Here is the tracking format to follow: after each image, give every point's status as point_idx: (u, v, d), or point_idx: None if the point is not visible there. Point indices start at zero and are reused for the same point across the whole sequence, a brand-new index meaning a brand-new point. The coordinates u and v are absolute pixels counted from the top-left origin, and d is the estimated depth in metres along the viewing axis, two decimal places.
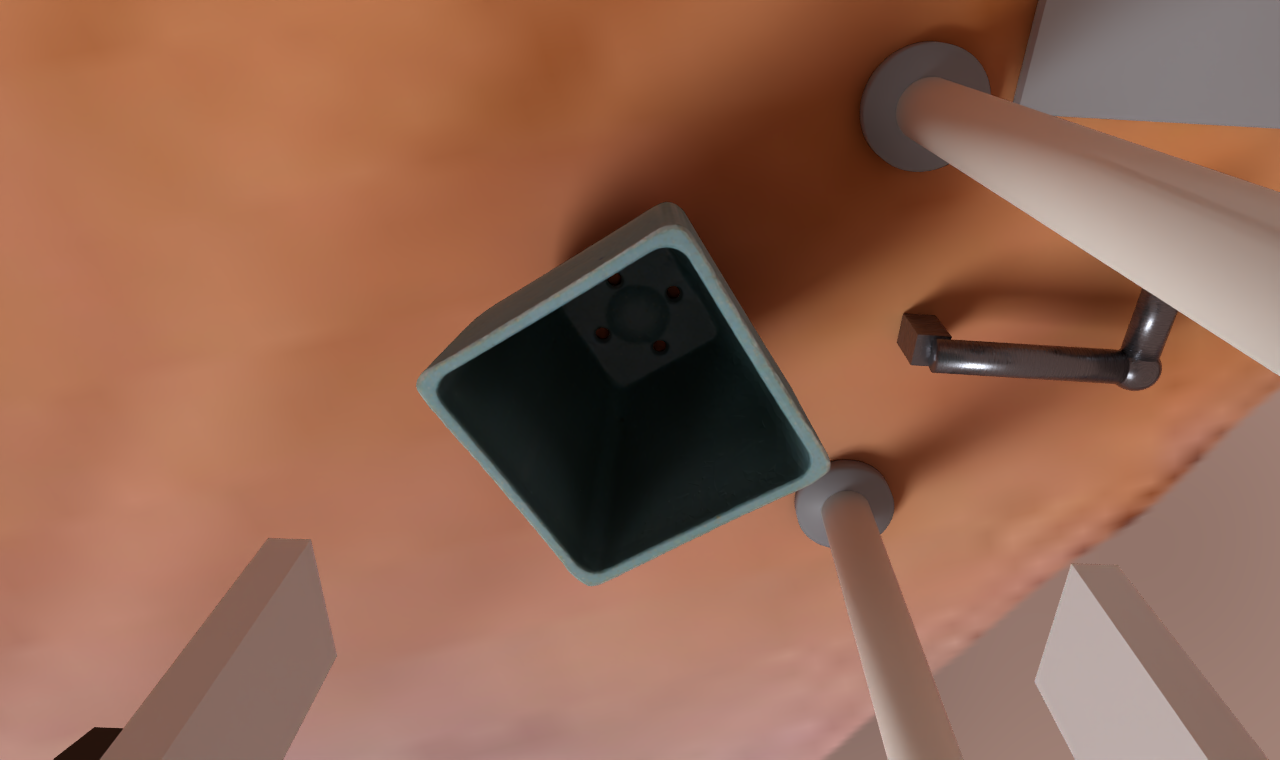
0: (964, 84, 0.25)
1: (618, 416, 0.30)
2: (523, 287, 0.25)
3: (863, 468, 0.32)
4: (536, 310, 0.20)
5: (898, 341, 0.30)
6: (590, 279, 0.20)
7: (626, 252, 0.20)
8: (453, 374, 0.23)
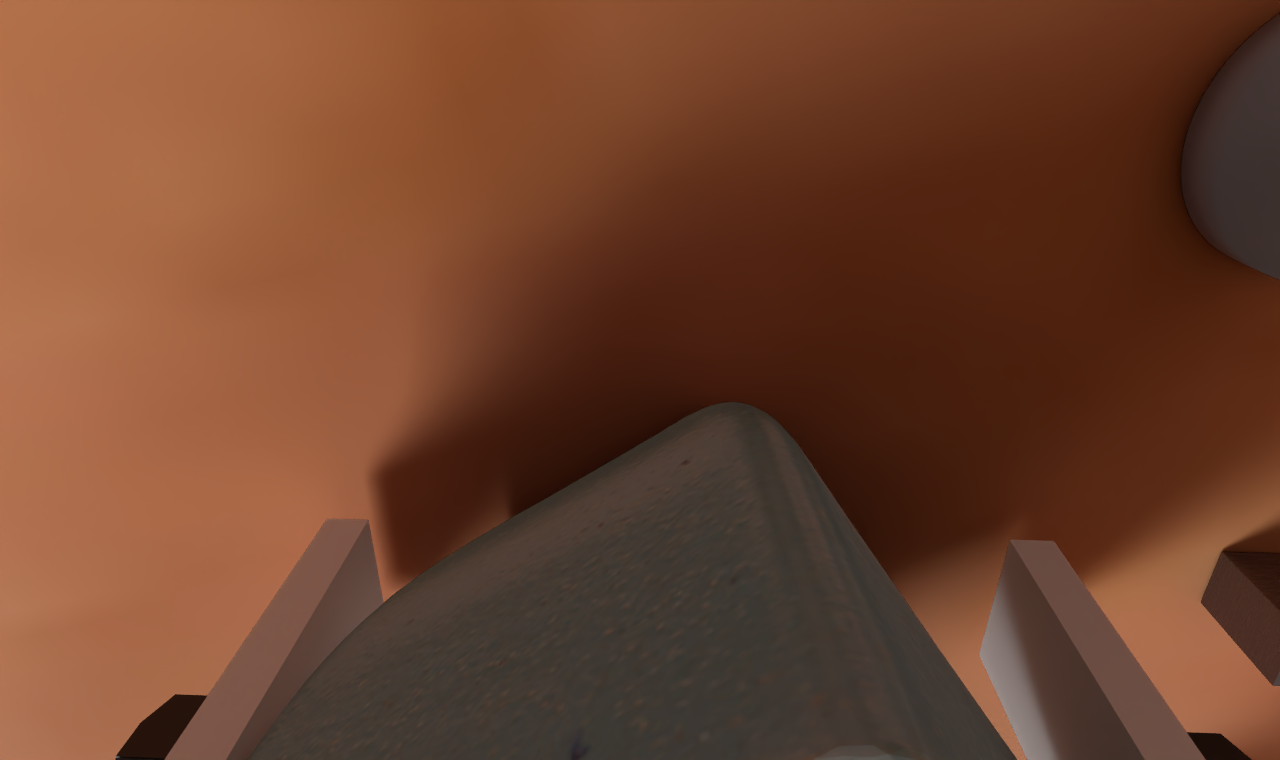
0: None
1: None
2: (408, 611, 0.11)
3: None
4: None
5: (1207, 603, 0.15)
6: None
7: None
8: None
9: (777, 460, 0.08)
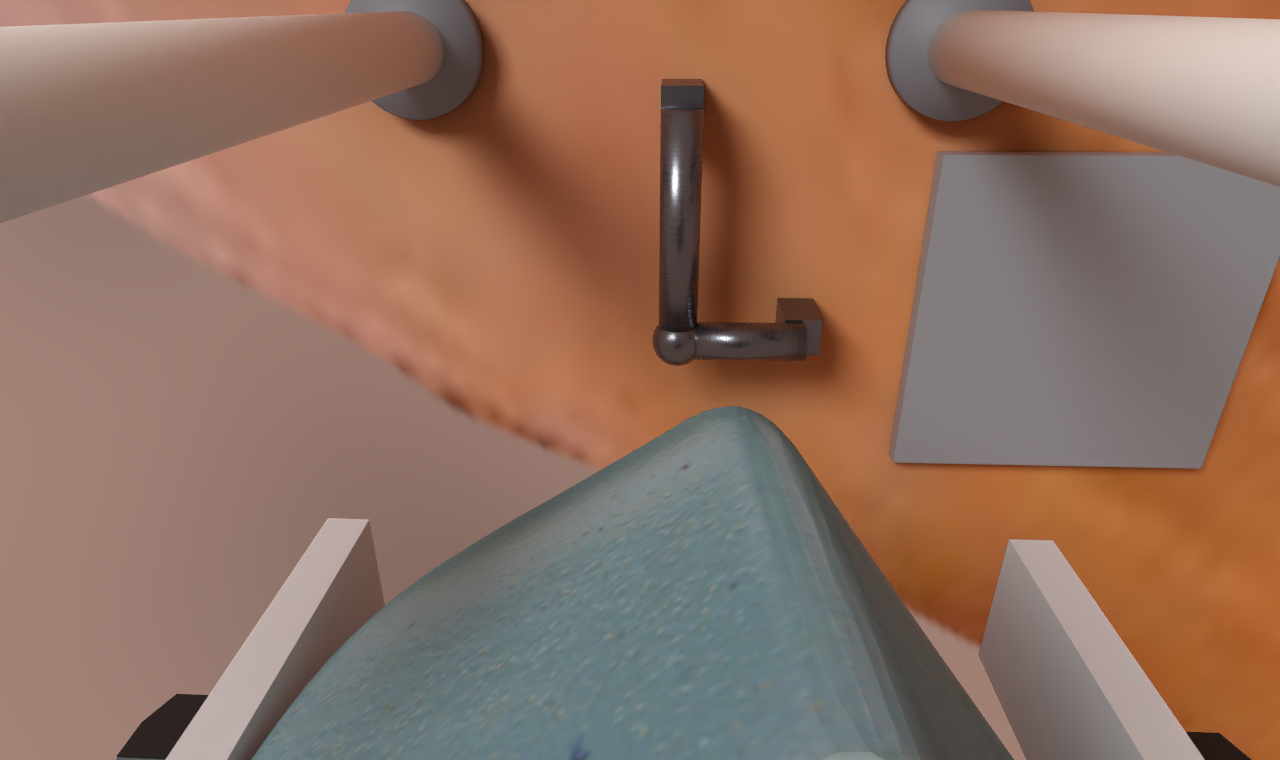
0: None
1: None
2: (409, 615, 0.11)
3: (479, 65, 0.23)
4: None
5: (666, 79, 0.23)
6: None
7: None
8: None
9: (776, 465, 0.08)
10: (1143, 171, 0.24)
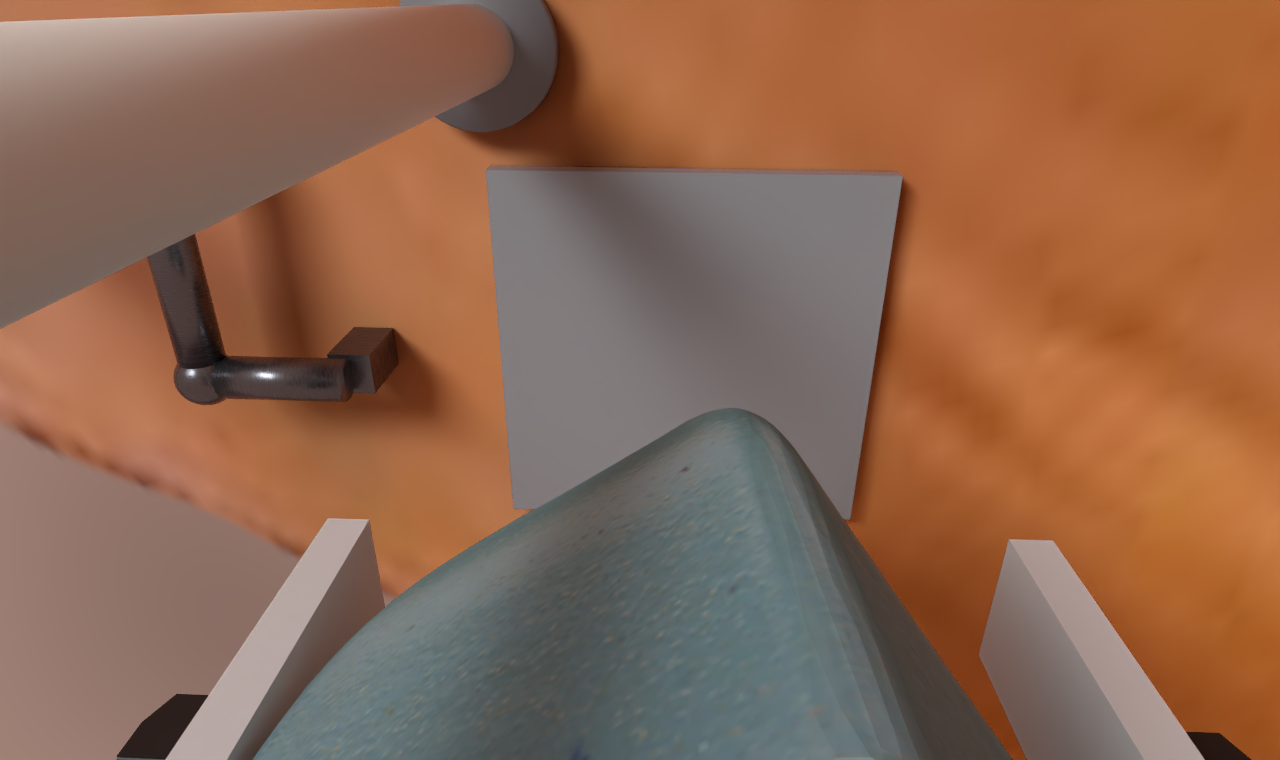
0: (509, 91, 0.20)
1: None
2: (409, 617, 0.11)
3: None
4: None
5: None
6: None
7: None
8: None
9: (776, 468, 0.08)
10: (712, 190, 0.21)
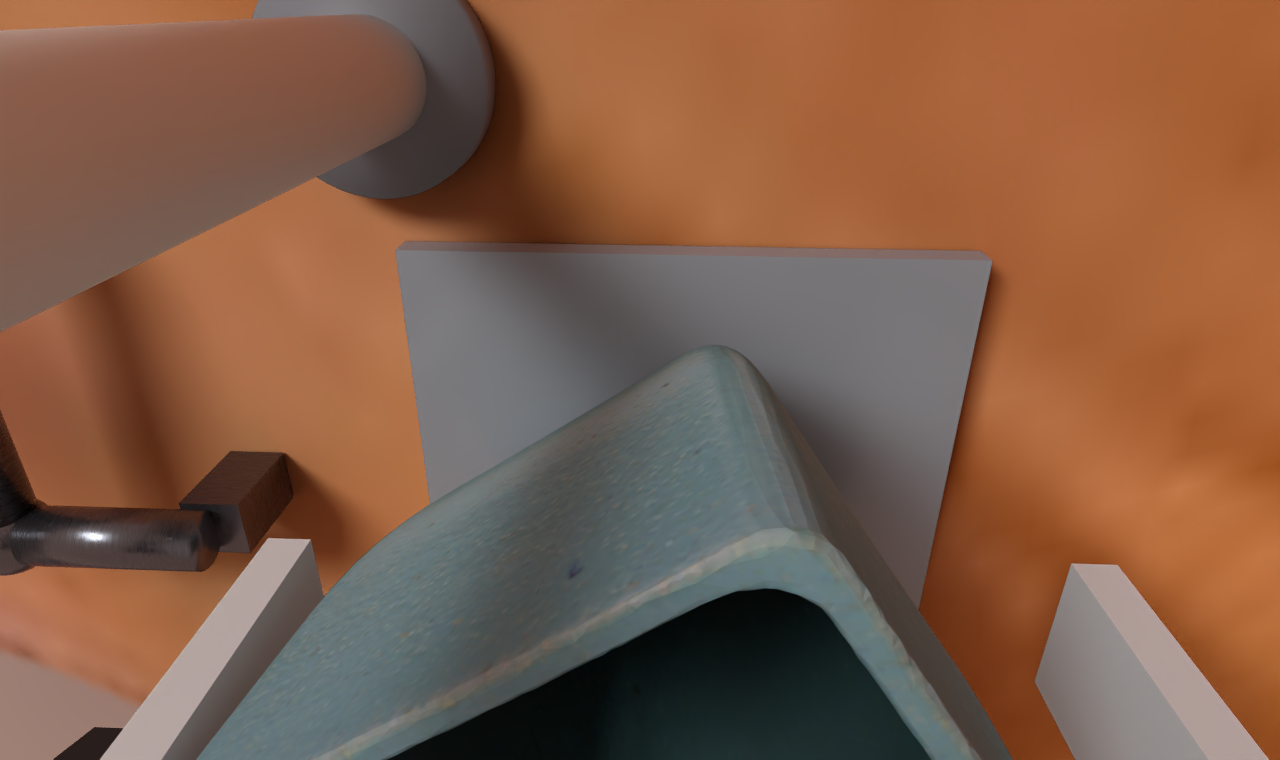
0: (422, 142, 0.13)
1: (630, 681, 0.17)
2: (428, 519, 0.12)
3: None
4: (395, 733, 0.07)
5: None
6: (539, 666, 0.07)
7: (642, 604, 0.07)
8: None
9: (738, 375, 0.10)
10: (719, 279, 0.15)
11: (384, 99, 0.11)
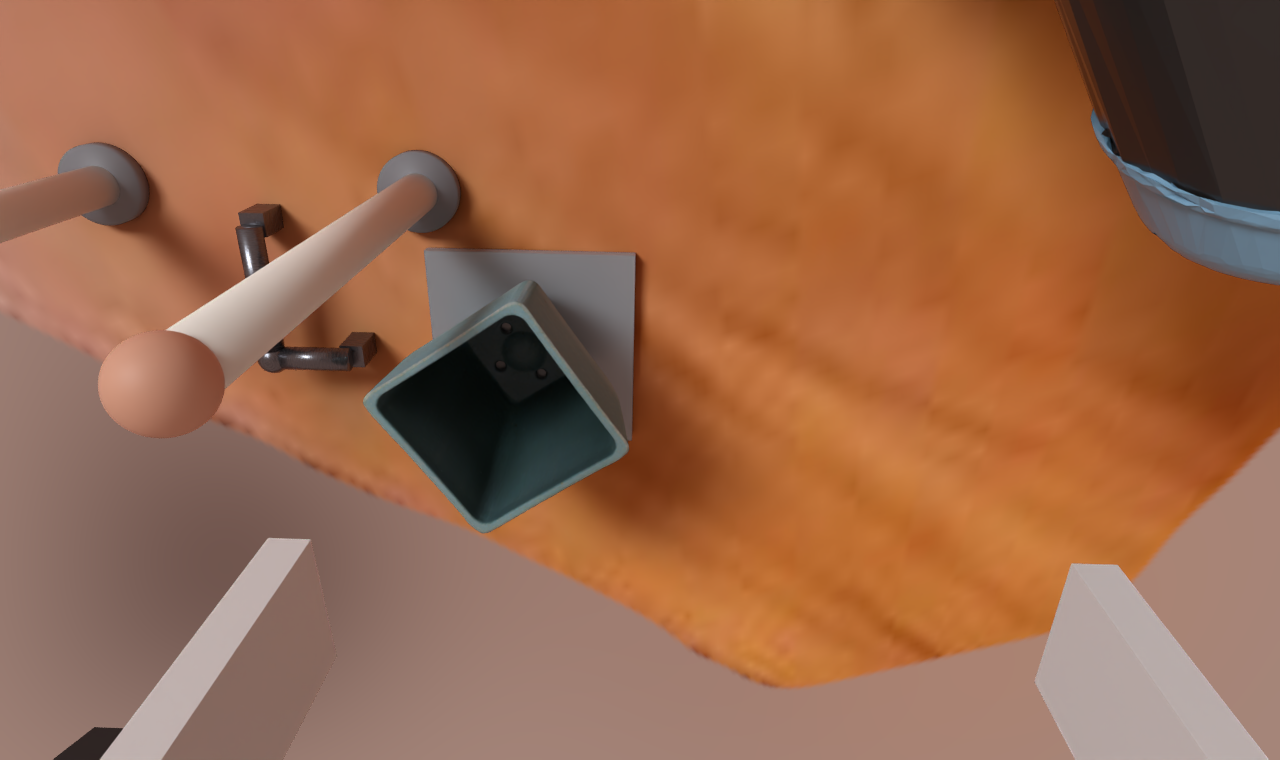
0: (435, 213, 0.39)
1: (513, 423, 0.43)
2: None
3: (143, 195, 0.40)
4: (435, 354, 0.33)
5: (257, 204, 0.40)
6: (467, 335, 0.33)
7: (487, 318, 0.33)
8: (388, 395, 0.35)
9: (526, 283, 0.36)
10: (540, 262, 0.41)
11: (426, 204, 0.37)
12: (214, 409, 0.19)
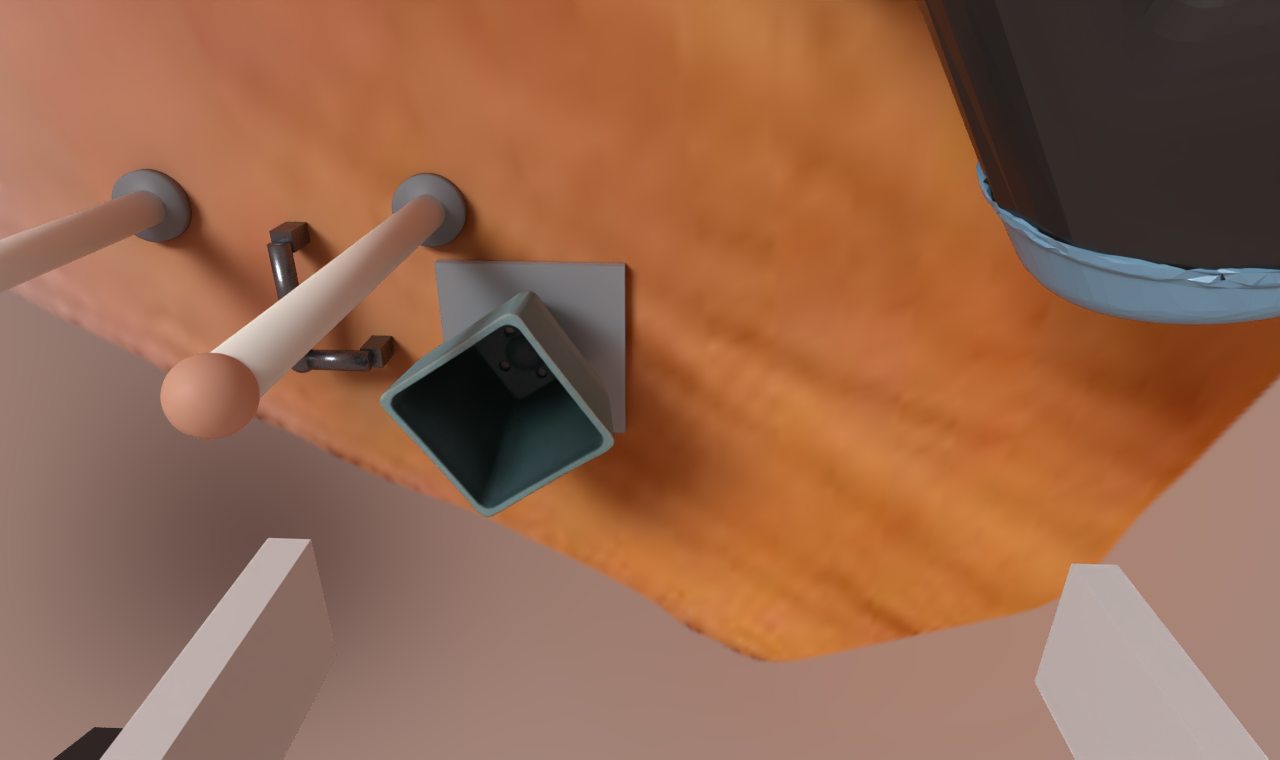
0: (443, 230, 0.44)
1: (516, 417, 0.47)
2: (446, 341, 0.43)
3: (186, 215, 0.44)
4: (442, 359, 0.38)
5: (286, 222, 0.45)
6: (469, 342, 0.37)
7: (486, 328, 0.37)
8: (401, 394, 0.40)
9: (523, 295, 0.40)
10: (539, 272, 0.45)
11: (434, 223, 0.42)
12: (251, 416, 0.23)
